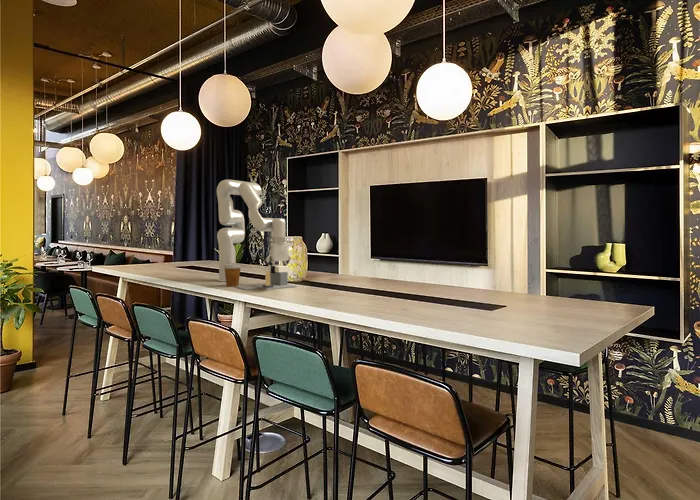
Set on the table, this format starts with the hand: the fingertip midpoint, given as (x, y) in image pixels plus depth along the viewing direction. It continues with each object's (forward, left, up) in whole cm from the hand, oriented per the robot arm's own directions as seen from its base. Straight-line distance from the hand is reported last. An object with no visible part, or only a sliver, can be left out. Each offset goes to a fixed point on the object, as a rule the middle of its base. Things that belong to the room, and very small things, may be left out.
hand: (278, 272), depth 258 cm
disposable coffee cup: (-13, -22, -8) cm, 26 cm away
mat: (-1, -19, -7) cm, 20 cm away
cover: (0, 0, +1) cm, 1 cm away
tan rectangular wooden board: (+11, -13, -5) cm, 17 cm away
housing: (+3, -5, -7) cm, 9 cm away
